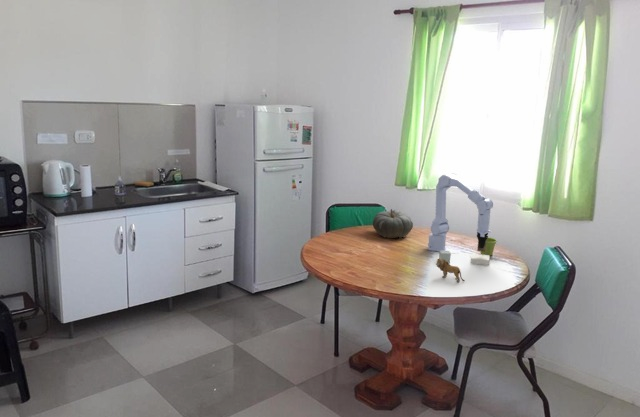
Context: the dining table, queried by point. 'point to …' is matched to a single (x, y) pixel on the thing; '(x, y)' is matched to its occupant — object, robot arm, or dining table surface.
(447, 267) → the lion figurine
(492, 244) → the plant pot
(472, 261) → the cream block
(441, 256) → the grey cube
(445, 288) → the dining table surface
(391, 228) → the gourd
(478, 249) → the walnut block
